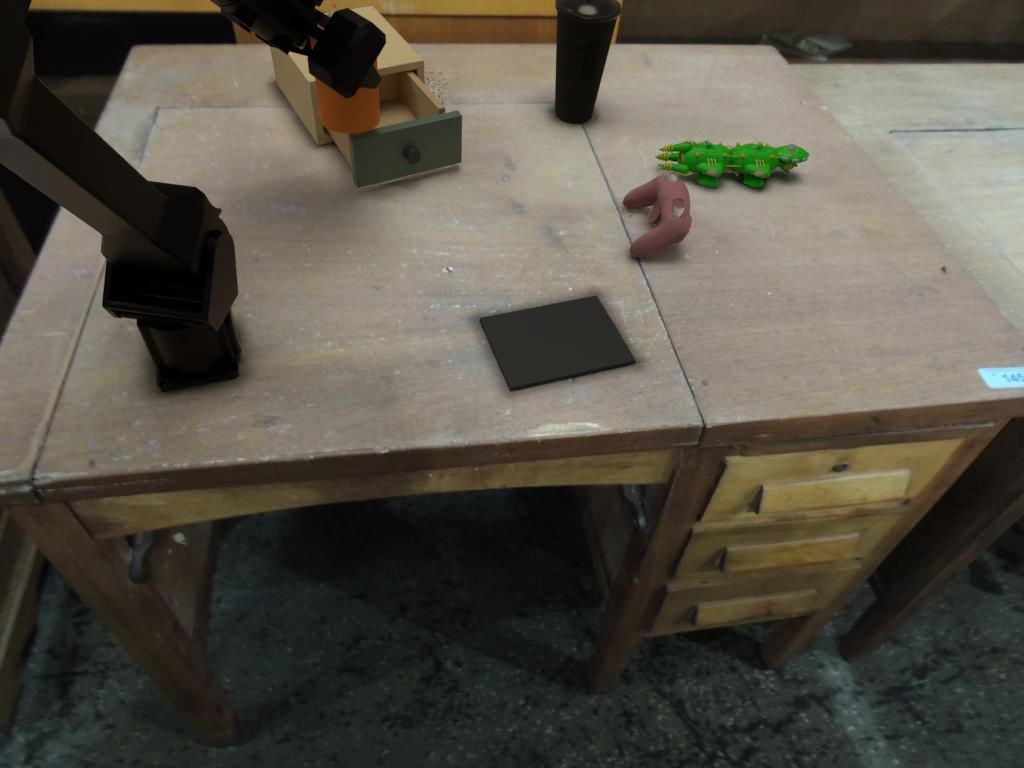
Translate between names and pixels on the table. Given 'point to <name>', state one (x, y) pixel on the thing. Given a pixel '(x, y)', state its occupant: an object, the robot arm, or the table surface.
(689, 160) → the crocodile figurine
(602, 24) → the drinking cup
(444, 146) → the drawer
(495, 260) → the table surface
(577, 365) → the mat
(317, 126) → the cabinet
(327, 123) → the orange bottle
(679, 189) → the video game controller
